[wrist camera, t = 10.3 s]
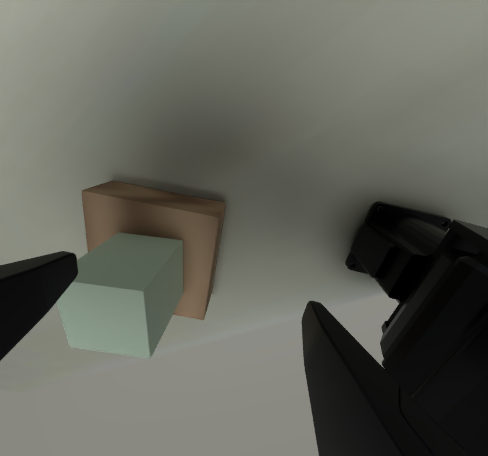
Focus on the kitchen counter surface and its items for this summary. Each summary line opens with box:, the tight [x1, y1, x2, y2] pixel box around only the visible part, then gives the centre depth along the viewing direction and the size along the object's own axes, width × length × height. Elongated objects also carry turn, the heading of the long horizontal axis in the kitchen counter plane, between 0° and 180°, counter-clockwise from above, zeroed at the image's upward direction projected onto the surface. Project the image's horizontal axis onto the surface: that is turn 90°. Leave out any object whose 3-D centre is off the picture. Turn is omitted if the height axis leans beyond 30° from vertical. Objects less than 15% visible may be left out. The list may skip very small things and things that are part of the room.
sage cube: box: [57, 232, 184, 359], centre depth 15 cm, size 5×5×6 cm
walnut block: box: [82, 181, 226, 320], centre depth 20 cm, size 10×10×4 cm
